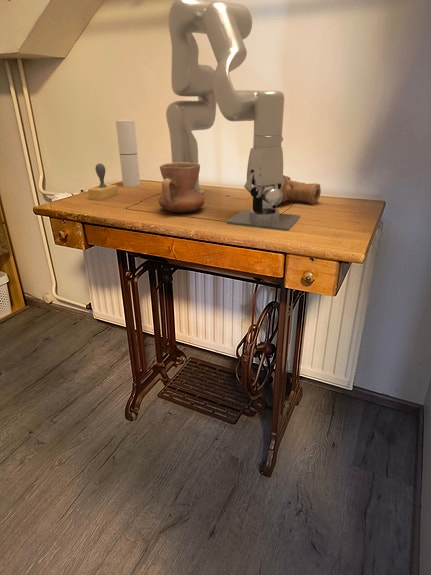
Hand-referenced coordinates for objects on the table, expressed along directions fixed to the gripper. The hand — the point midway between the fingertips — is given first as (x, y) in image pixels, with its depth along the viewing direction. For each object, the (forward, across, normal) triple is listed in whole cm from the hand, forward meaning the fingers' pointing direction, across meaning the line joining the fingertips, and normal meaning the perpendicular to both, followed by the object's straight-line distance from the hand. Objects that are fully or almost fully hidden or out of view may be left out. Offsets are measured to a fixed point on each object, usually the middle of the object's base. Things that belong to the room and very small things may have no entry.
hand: (264, 208), depth 112 cm
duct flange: (+3, 0, 0) cm, 4 cm away
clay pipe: (+4, -20, -10) cm, 23 cm away
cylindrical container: (+4, +8, -73) cm, 73 cm away
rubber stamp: (+4, +25, -59) cm, 65 cm away
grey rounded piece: (+2, 0, +1) cm, 2 cm away
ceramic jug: (+4, +13, -25) cm, 28 cm away
